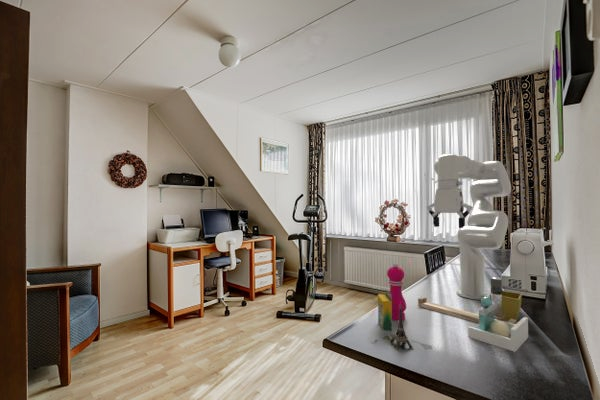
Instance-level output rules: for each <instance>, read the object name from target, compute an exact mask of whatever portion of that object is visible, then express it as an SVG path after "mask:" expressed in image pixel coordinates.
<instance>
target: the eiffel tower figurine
mask: <svg viewBox="0 0 600 400" xmlns="http://www.w3.org/2000/svg"><path fill="white" fill-rule="evenodd" d="M399 307H400V312H399V321H398V324H397V329H396V331H395V333H393V334H390V335H384V336H383V337H382V339H383V340H386V341H388V343H389V344H390V346H392V347H393V349H394V350H395V351H413V350H414V351H415V348H413V346H412V344H411V343H416V344H418V345H420V346H421V347H422V348H423V349H426V350H432V349H433V347H434V346H433V345H432V344H431V345H430V344H426V343H423V342H419V341H417V340H416V341H415V340H413V339H410V338H408V336H407V334H406V332H405V327H404V322H403V321H404V320H402V305H401V301H400V305H399ZM378 342H380V339H377V338H376V339H374V340H373V341H372V342H371V344H373V345H375V344H376V343H378Z"/></svg>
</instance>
